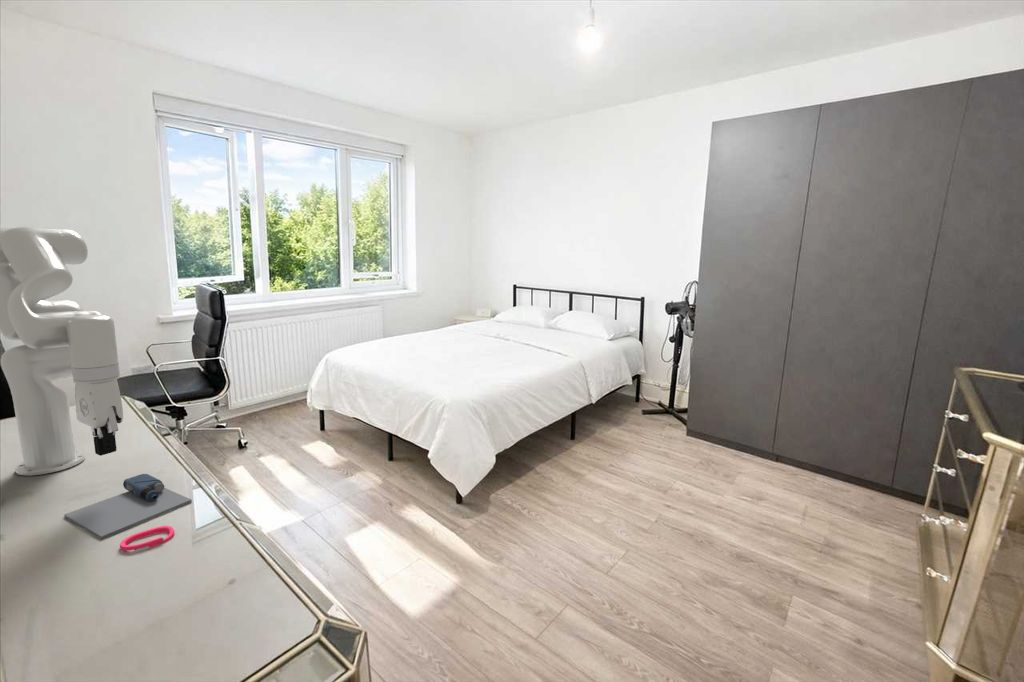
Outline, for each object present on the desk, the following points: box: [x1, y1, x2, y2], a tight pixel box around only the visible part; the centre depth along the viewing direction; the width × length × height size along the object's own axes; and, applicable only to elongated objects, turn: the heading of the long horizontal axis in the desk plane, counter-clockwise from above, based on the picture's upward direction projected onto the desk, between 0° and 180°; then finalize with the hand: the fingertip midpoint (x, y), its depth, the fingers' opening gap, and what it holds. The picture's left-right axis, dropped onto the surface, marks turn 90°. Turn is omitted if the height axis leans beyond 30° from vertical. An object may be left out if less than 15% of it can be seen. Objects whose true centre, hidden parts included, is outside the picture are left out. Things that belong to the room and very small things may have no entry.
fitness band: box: [119, 525, 175, 553], centre depth 88 cm, size 8×6×2 cm
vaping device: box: [122, 473, 165, 502], centre depth 104 cm, size 3×5×12 cm
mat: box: [63, 487, 193, 540], centre depth 98 cm, size 16×16×1 cm
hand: (106, 452), depth 102 cm, fingers closed
